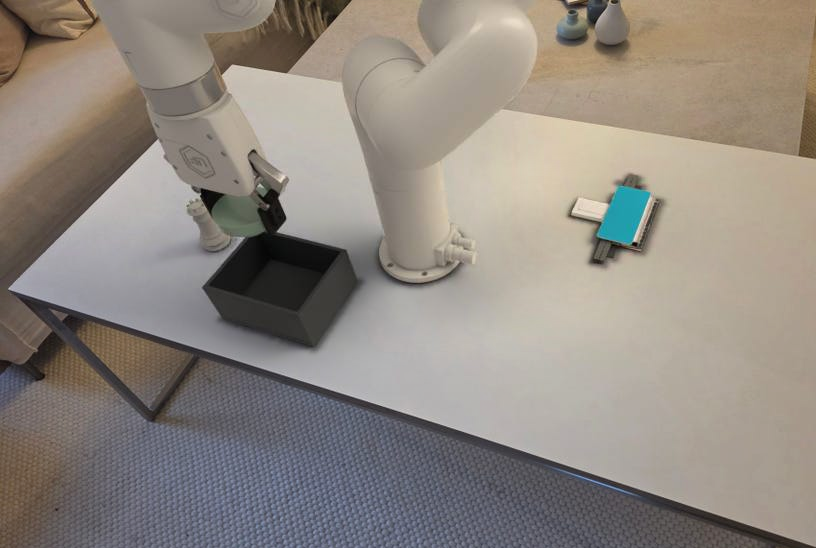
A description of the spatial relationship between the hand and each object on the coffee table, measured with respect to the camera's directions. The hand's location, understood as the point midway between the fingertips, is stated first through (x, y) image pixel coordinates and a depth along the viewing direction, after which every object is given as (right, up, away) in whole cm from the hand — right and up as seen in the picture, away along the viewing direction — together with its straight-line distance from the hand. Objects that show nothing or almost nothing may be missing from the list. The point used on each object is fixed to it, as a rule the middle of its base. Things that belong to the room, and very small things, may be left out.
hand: (249, 219), depth 72 cm
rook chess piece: (-13, 0, +21) cm, 25 cm away
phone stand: (+49, +4, +19) cm, 52 cm away
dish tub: (+1, -9, +12) cm, 15 cm away
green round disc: (0, -1, +1) cm, 1 cm away
